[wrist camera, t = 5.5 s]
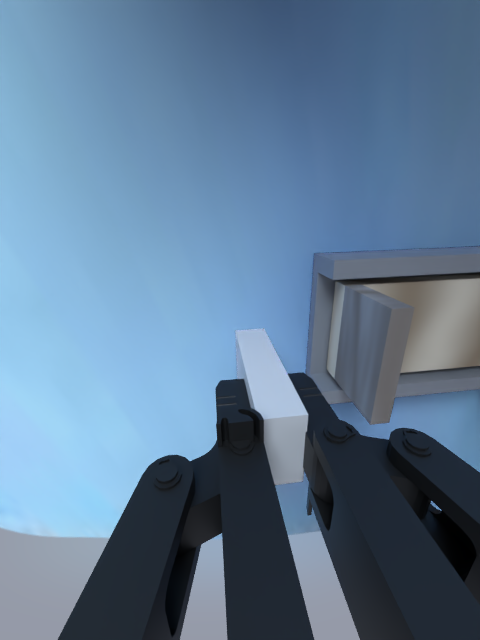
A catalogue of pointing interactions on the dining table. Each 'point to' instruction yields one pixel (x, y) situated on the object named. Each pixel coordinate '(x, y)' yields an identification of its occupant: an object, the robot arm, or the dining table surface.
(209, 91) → the dining table surface
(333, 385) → the rail
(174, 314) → the dining table surface
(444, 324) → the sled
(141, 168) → the dining table surface
